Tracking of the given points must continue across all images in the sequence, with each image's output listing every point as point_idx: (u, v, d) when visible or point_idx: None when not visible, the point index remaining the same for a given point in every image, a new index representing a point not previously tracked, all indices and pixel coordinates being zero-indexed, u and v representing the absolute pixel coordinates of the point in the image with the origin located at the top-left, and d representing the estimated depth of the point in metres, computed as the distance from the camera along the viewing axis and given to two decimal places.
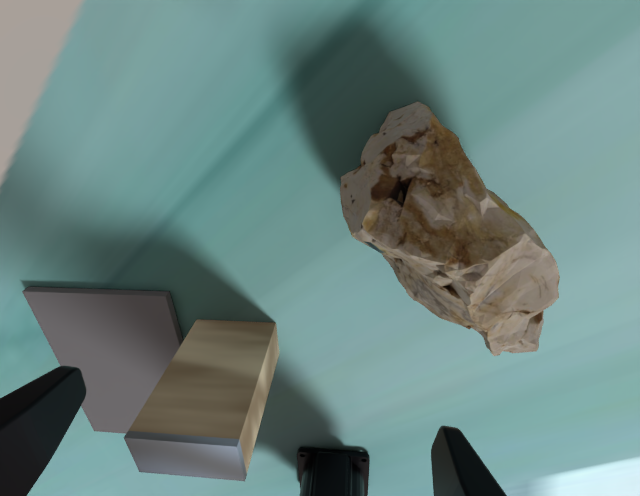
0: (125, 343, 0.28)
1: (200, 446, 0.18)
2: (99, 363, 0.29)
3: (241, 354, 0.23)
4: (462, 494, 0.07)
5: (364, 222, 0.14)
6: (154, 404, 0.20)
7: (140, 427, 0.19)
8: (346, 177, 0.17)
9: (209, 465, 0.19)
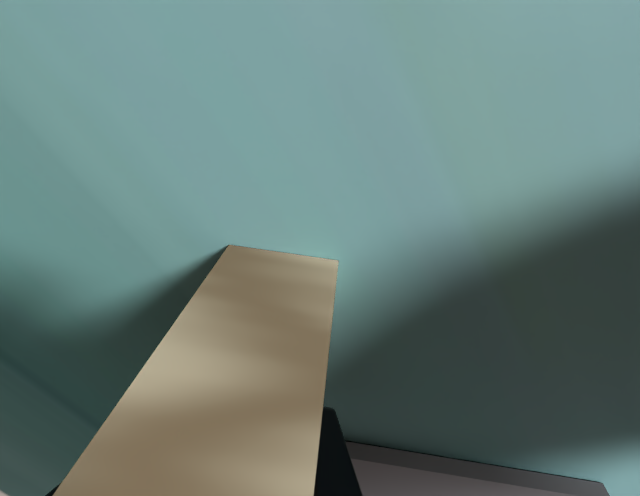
0: None
1: None
2: None
3: None
4: None
5: None
6: None
7: None
8: None
9: None
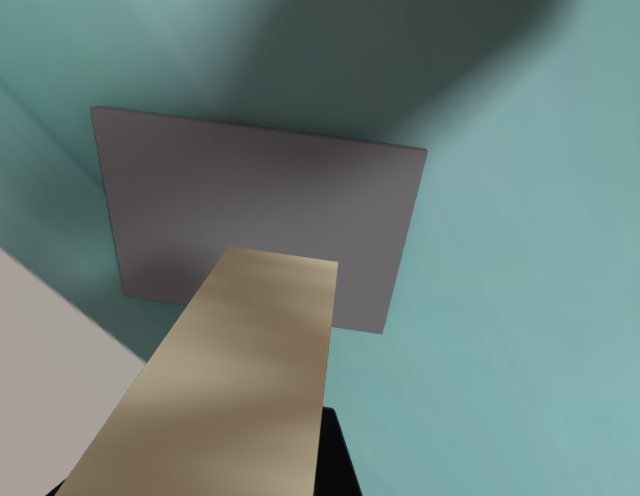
0: (191, 206, 0.19)
1: None
2: None
3: None
4: None
5: None
6: None
7: None
8: None
9: None
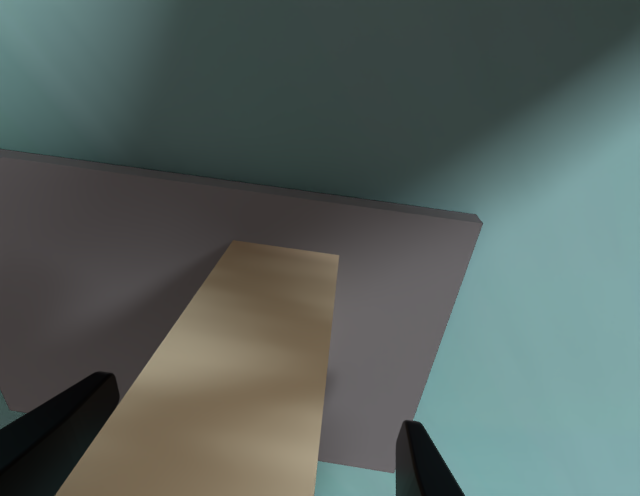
0: (85, 297, 0.12)
1: None
2: None
3: None
4: (416, 486, 0.07)
5: None
6: None
7: None
8: None
9: None
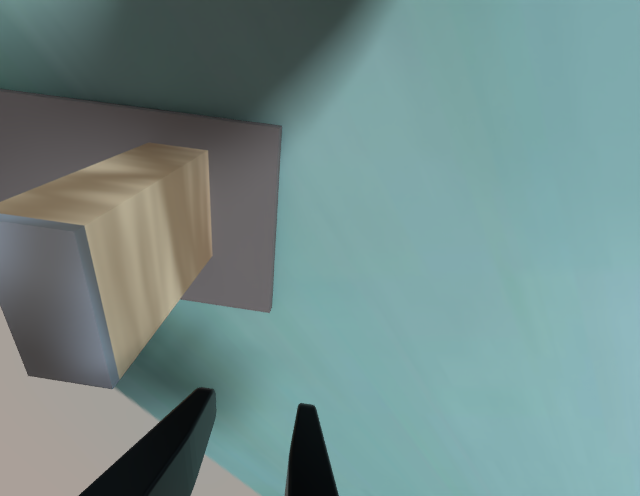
0: None
1: None
2: None
3: None
4: (288, 465, 0.07)
5: None
6: None
7: None
8: None
9: (47, 280, 0.10)
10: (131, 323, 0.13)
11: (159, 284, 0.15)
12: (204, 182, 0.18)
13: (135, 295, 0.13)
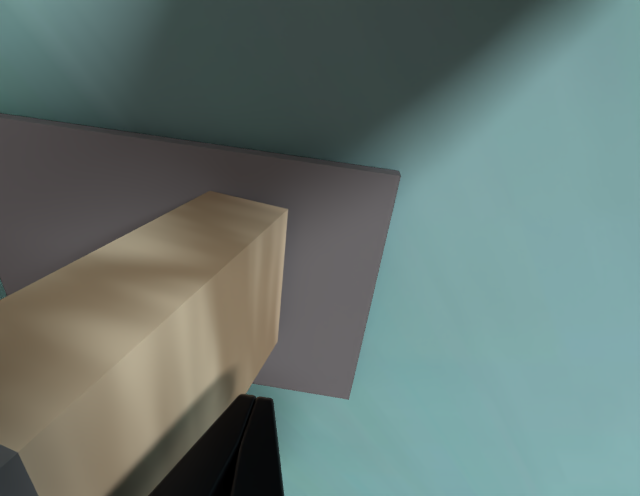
0: (92, 241, 0.14)
1: None
2: None
3: None
4: (236, 457, 0.07)
5: None
6: None
7: None
8: None
9: None
10: None
11: (192, 433, 0.09)
12: (278, 254, 0.12)
13: (144, 481, 0.07)
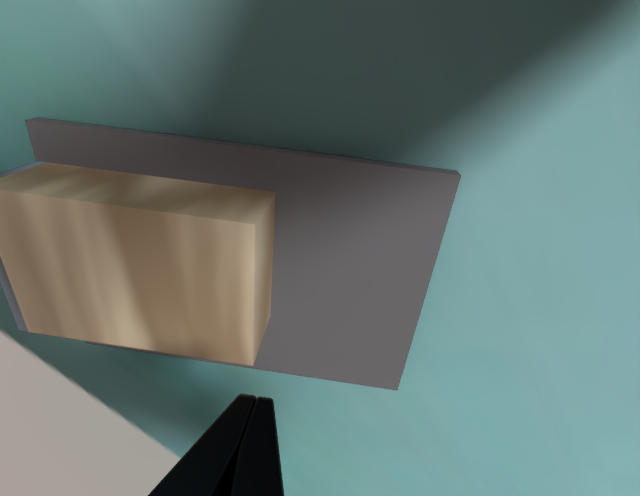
0: None
1: None
2: None
3: None
4: (236, 457, 0.07)
5: None
6: None
7: None
8: None
9: None
10: (46, 304, 0.13)
11: (99, 306, 0.13)
12: (234, 261, 0.12)
13: (51, 285, 0.13)
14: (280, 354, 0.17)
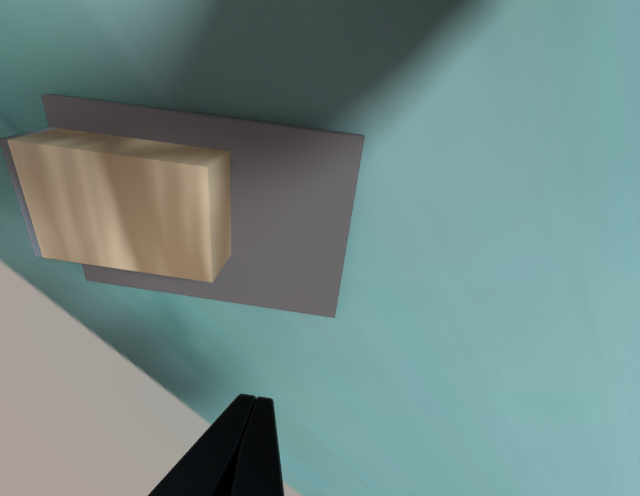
0: None
1: None
2: None
3: None
4: (236, 457, 0.07)
5: None
6: None
7: None
8: None
9: None
10: (56, 233, 0.18)
11: (96, 234, 0.18)
12: (194, 196, 0.16)
13: (61, 217, 0.17)
14: (240, 287, 0.22)
